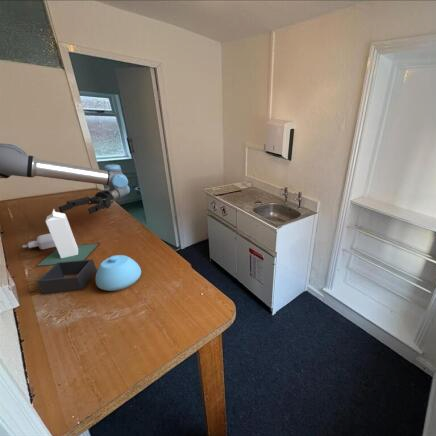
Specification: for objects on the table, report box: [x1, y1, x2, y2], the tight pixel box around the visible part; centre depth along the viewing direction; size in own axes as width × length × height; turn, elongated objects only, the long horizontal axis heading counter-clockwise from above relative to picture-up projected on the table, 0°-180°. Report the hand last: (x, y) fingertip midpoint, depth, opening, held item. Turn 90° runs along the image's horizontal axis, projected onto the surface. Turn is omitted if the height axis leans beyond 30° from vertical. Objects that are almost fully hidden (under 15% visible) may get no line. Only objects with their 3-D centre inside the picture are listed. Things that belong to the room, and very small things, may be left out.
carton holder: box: [36, 258, 98, 295], centre depth 92 cm, size 12×12×6 cm
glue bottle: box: [21, 232, 56, 251], centre depth 114 cm, size 5×9×15 cm
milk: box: [45, 208, 78, 258], centre depth 105 cm, size 6×6×22 cm
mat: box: [36, 243, 99, 267], centre depth 109 cm, size 16×16×1 cm
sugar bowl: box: [95, 254, 142, 292], centre depth 93 cm, size 15×15×12 cm
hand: (74, 210), depth 111 cm, fingers open, 13 cm apart
